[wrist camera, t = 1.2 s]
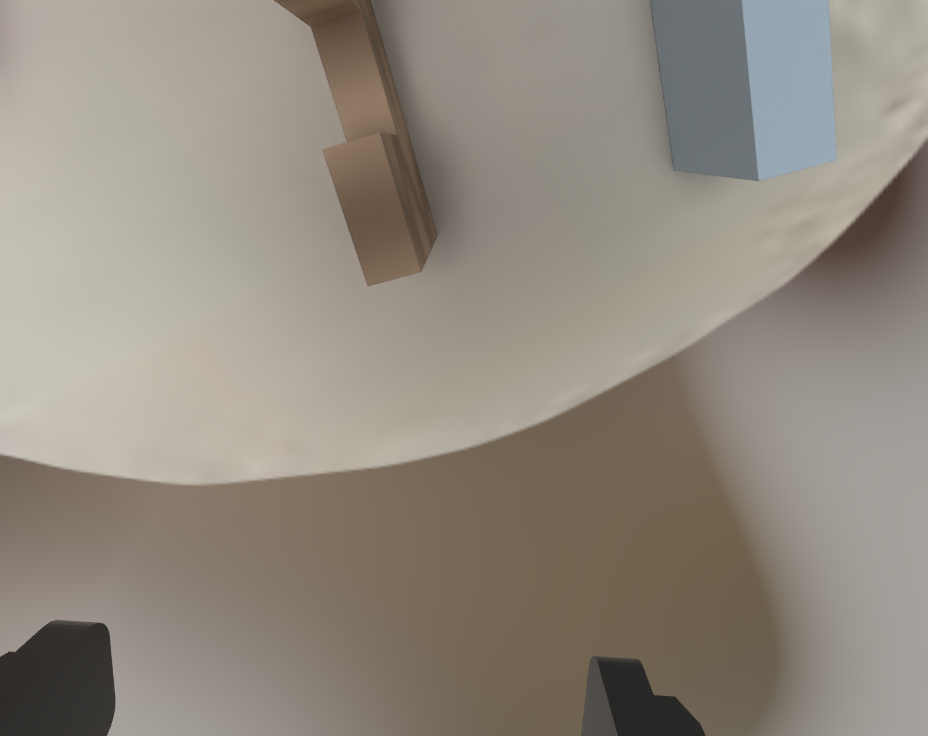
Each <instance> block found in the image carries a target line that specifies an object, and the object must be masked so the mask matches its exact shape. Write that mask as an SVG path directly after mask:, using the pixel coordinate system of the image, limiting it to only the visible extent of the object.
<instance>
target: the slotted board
mask: <svg viewBox="0 0 928 736" xmlns="http://www.w3.org/2000/svg"><path fill="white" fill-rule="evenodd" d="M275 1H276V2H277V3H279V4H280V5H281V6H283V7H284V8H286V9H287V10H288V11H290V12H291V13H293V14H294V15H295V16H297V17H298V18H299V19H301V20H302V21H304V22H305V23H306V24H308V25H309V26H311V29H312V32H313V35H314V39H315V42H316V45H317V48H318V51H319V54H320V57H321V60H322V64H323V67H324V70H325V73H326V76H327V79H328V82H329V86H330V89H331V92H332V95H333V98H334V101H335V104H336V108H337V111H338V114H339V117H340V120H341V123H342V126H343V130H344V133H345V136H346V139H347V143H344V144H340V145H337V146H334V147H330V148H327V149H324V150H323V153H324V156H325V159H326V162H327V165H328V168H329V171H330V174H331V177H332V180H333V183H334V186H335V189H336V192H337V195H338V198H339V201H340V204H341V207H342V210H343V213H344V216H345V219H346V222H347V225H348V228H349V231H350V234H351V237H352V240H353V243H354V246H355V249H356V252H357V255H358V258H359V261H360V264H361V267H362V270H363V273H364V276H365V279H366V282H367V285H368V286H370V285H374V284H378V283H381V282H385V281H389V280H393V279H396V278H400V277H404V276H407V275H411V274H415V273H419V272H421V271H422V269H423V267H424V264H425V262H426V260H427V258H428V255H429V253H430V251H431V249H432V246H433V244H434V242H435V240H436V237H437V233H436V230H435V226H434V223H433V219H432V216H431V212H430V209H429V205H428V202H427V198H426V195H425V191H424V188H423V184H422V181H421V177H420V173H419V170H418V166H417V163H416V159H415V156H414V152H413V149H412V145H411V142H410V138H409V135H408V131H407V128H406V124H405V121H404V117H403V114H402V110H401V106H400V103H399V99H398V96H397V92H396V89H395V85H394V82H393V78H392V75H391V71H390V68H389V64H388V61H387V57H386V54H385V50H384V47H383V43H382V40H381V36H380V32H379V29H378V25H377V22H376V18H375V15H374V11H373V8H372V4H371V1H370V0H275Z"/></svg>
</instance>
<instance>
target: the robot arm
mask: <svg viewBox="0 0 928 736" xmlns="http://www.w3.org/2000/svg"><path fill="white" fill-rule="evenodd" d="M114 711H115V690H114V679H113V668H112V658H111V646H110V635H109V631H108V628H107V627H106V625H105V624H103V623H94V622H79V621H64V620H55V621H51V622H50V623H48V624H47V625H45V626H44V627H43V628H42V629H40V630H39V631H38V632H37V633H36V634H35V635H34V636H33V637H32V638H30V639H29V640H28V641H27V642H26V643H25V644H24V645H23V646H21V647H20V648H19V649H18V650H17V651H16V652H8V653H6V654H4V655H3V656H1V657H0V736H107V734H108V732H109V729H110V727H111V723H112V721H113V716H114ZM581 736H705V734H704V731H703V729H702V727H701V725H700V723H699V722H698V721H697V720H696V719H695V718H694V717H693V716H692V715H691V714H690V713H689V711H688V710H687V709H686V708H685V707H684V706H683V705H682V704H681V703H680V702H679V701H678V699H677V698H676V697H672V696H658V695H657V696H656V695H654V694H653V692H652V689H651V687H650V684H649V681H648V679H647V676H646V673H645V671H644V668H643V666H642V663H641V662H640V660H639V659H632V658H617V657H602V656H592V658H591V660H590V664H589V672H588V681H587V689H586V698H585V707H584V715H583V725H582V733H581Z"/></svg>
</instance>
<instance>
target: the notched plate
mask: <svg viewBox="0 0 928 736" xmlns="http://www.w3.org/2000/svg"><path fill="white" fill-rule="evenodd" d="M650 4H651V11H652V18H653V25H654V32H655V39H656V46H657V54H658V61H659V68H660V75H661V82H662V89H663V96H664V103H665V110H666V118H667V125H668V132H669V139H670V146H671V153H672V160H673V167H674V171H681V172H689V173H697V174H706V175H714V176H722V177H730V178H738V179H746V180H755V181H761V180H764V179H768V178H772V177H776V176H779V175H783V174H787V173H790V172H794V171H798V170H802V169H805V168H809V167H813V166H816V165H820V164H824V163H828V162H831V161H835V160H836V140H835V120H834V100H833V79H832V59H831V38H830V18H829V0H650Z"/></svg>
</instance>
